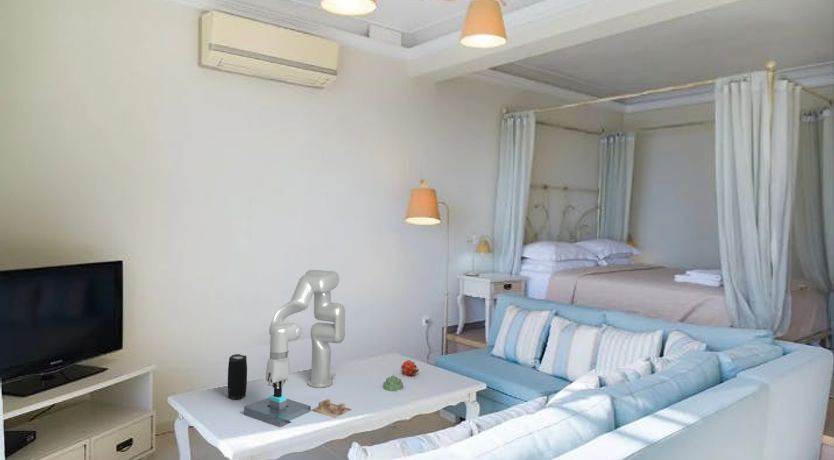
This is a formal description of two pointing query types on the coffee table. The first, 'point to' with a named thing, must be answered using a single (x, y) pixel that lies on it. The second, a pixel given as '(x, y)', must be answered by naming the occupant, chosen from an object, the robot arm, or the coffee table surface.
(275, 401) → the plug
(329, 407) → the brown holder base
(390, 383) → the decorative artifact
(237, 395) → the portable speaker
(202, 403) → the coffee table surface
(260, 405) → the port
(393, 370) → the coffee table surface
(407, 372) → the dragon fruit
